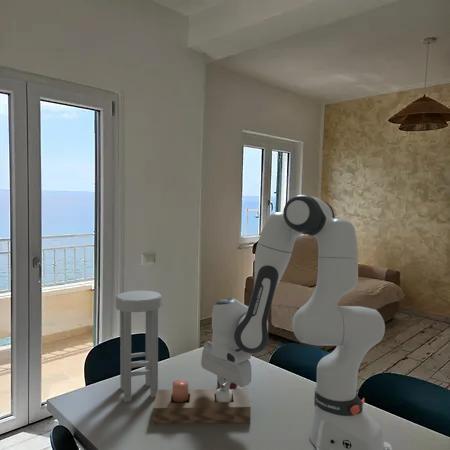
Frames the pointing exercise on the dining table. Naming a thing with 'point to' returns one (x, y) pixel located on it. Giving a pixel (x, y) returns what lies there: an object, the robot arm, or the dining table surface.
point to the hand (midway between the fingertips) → (224, 389)
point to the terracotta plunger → (180, 390)
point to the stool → (150, 305)
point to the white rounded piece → (223, 396)
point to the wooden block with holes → (201, 408)
